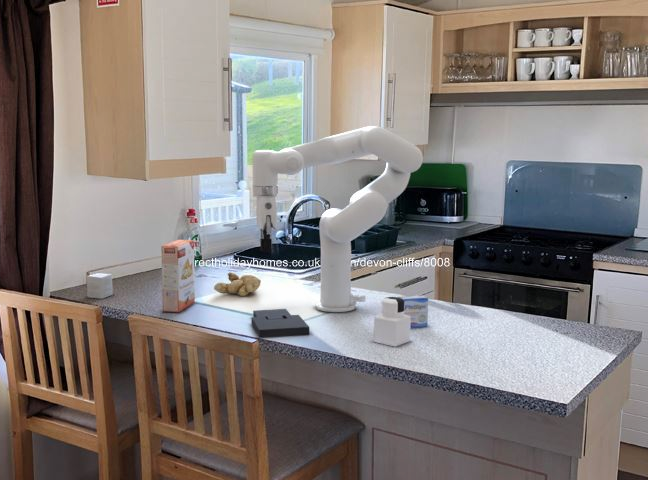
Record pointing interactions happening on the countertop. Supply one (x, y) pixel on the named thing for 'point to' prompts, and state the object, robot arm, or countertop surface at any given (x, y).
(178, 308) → the cracker box
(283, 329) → the notch pad
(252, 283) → the ginger root
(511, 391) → the countertop surface
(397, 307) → the medicine bottle
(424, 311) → the medicine box
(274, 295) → the countertop surface
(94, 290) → the product box
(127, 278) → the countertop surface
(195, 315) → the countertop surface
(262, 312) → the pad
